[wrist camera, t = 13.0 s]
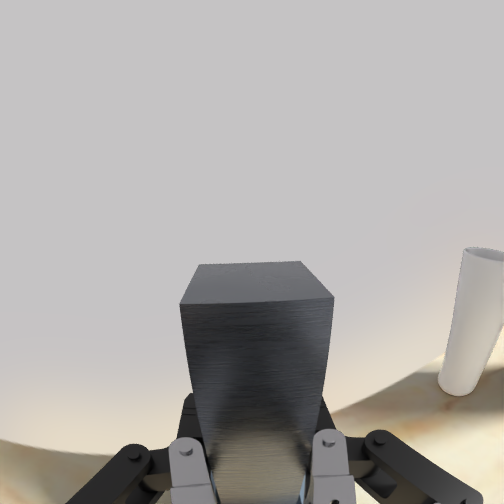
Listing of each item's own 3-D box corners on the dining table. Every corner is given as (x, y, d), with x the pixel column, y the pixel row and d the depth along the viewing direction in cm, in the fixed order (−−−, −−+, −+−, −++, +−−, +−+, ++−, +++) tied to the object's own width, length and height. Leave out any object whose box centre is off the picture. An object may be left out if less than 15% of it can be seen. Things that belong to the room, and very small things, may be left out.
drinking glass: (420, 379, 23) (450, 248, 20) (454, 362, 25) (482, 245, 21) (455, 411, 17) (505, 265, 14) (488, 387, 18) (528, 259, 15)
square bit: (281, 488, 13) (300, 261, 9) (288, 527, 9) (334, 297, 6) (229, 491, 13) (199, 264, 9) (230, 531, 9) (179, 304, 6)
